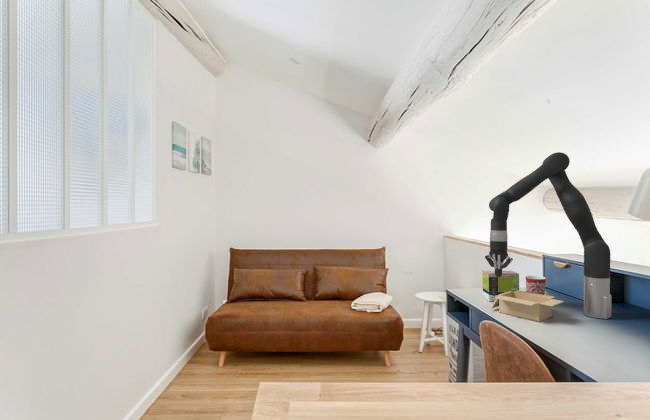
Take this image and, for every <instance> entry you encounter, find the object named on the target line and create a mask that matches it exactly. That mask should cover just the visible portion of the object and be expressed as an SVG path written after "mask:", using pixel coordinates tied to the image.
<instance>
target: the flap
mask: <svg viewBox="0 0 650 420" xmlns="http://www.w3.org/2000/svg"><path fill="white" fill-rule="evenodd" d="M509 292H511V291H509ZM509 292H505V293H509ZM505 293H502V294H505ZM502 294H499V295H502ZM499 295H498V296H499ZM497 307H499V299H496V300H495V301H494V302H492V305H491V306H490V309H494V308H497Z"/></svg>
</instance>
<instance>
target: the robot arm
mask: <svg viewBox="0 0 650 420" xmlns="http://www.w3.org/2000/svg"><path fill="white" fill-rule="evenodd" d="M541 163H542V164H541V165H540V166H538V167H537V168H535V170H533V171H532V172H531V173H529V174H527V175H526V176H524V177H523V178H521V179H519V180H517V182H515V183H514V184H512V185H511V186H510V187H508V188H507V189H506V190H504V191H503V192H500V193H499V194H497V195H495V196H494V197H493V198H492V199H491V200H490V201H489V203H488V208H489V210H491V212H493V213H492V214H493V215H492V218H491V220H490V231H489V253H488V254H487V255H485V256H484V259H485V260H486V261H487V263H488V264H489V266H490V267H491V268H493V269H494V270H495V275H496V277H501V276H502V270H503V269H506V268H507V267H508V266H510V264H511V263H512V262H513V260H514V259H513V257H510V256H509V253H508V242H509V241H508V236H509V235H508V218H509V213H510V205H511V204H512V203H515V202H518V201H520V200H521V199H522V198H524V197H526V195H528V194H529V193H531V192H532V191H534V189H536V188H537V187H538V186H539V185H540V184H542V183H544V182H545V181H546V180H547V179H548V180H549V182H550V183H551V185H552V187H553V188H554V192H555V193H556V196H557V198H558V200H559V202H560V204H561V206H562V209H563V210H564V213H565V215H566V217H567V219H568V220H569V221H570V223H571V225H572V226H573V227H574V228H575V230H576V232H577V234H578V236H579V239H580V240H581V244H582V248H583V314H584V315H585V316H586V317H591V318H595V319H604V320H608V319H609V318H611V317H612V294H611V292H610V291H611V290H610V288H611V287H610V286H611V285H610V284H611V249H610V246H609V245H608V243H607V242H606V241H605V239H604V238H603V236H602V234H601V233H600V231H599V230H598V228H597V226H596V222H595V220H594V217H593V214H592V210H591V207H590V206H589V204H588V202H587V200H586V198H585V197H584V195H583V194H582V192H581V191H580V190H579V189H578V188H577V187H576V186H574V184H573V183H572V182H571V181H570V179H569V177H568V175H567V173H566V170H567V169H568V168H569V166H570V157H569V156H568V154H566V153H564V152H557V151H556V152H554V153H551V154H550V155H549V156H547V157H545V159H544V160H543V162H541Z"/></svg>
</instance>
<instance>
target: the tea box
mask: <svg viewBox="0 0 650 420" xmlns="http://www.w3.org/2000/svg"><path fill="white" fill-rule="evenodd" d="M518 290H519V291H520V274H519V272H516V271H514V270H512V269H511V270H510V269H509V270H508V269H507V270H506V269H504V270H503V269H502V276H501V277H496V275H495V269H493V270H492V269H490V270H488V269H487V270H482V297H483V299H485V300H486V301H487V302H489V303H490V302H492V303H494V301H495V300H496V298H495V297H497V296H498V295H499V294H502V293H505V292H509V291H511V292H512V291H513V292H515V291H518Z"/></svg>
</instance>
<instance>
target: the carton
mask: <svg viewBox="0 0 650 420" xmlns="http://www.w3.org/2000/svg"><path fill="white" fill-rule="evenodd" d="M495 298H496V299H499V306H498V307H499V308H498V311H499V313H500V314H503V315H508V316H512V317H516V318H520V319H525V320H529V321H533V322H537V323H539V322H543V321H544V320H547V319H549V318H552V307H555V306H558V305H560V304H563V303H565V301H564V300H558V299H555V298H556V296H552V295H548V294H547V295H546V294H545V295H542V294H536V293H531V292H526V290H525V291H524V290H520V289H519V290H518V291H515V292H513V291H512V292H509V293H505V294H502V295H499V296H497V297H495Z"/></svg>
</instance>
